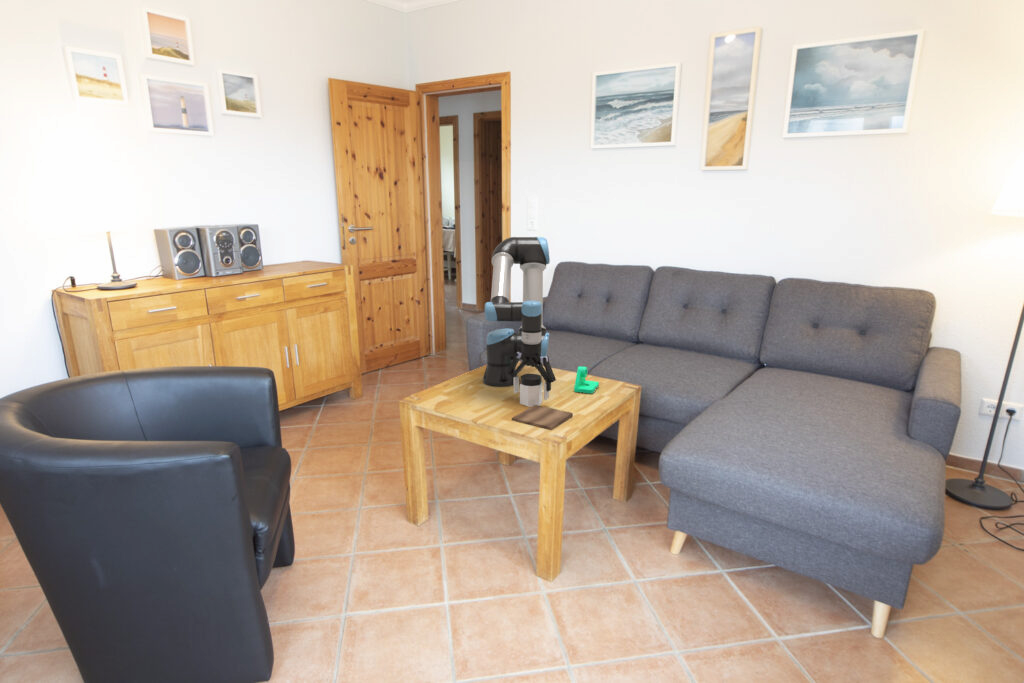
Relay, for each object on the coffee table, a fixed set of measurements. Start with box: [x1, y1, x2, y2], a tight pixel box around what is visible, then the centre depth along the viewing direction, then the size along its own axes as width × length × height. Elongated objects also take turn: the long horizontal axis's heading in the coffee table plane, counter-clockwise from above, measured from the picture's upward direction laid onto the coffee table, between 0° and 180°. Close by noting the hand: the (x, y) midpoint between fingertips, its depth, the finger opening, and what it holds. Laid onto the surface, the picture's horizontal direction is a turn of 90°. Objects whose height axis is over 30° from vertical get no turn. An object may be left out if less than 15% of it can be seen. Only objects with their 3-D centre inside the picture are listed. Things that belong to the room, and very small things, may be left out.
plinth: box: [511, 405, 574, 431], centre depth 200 cm, size 16×16×2 cm
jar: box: [519, 373, 543, 408], centre depth 215 cm, size 9×8×12 cm
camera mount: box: [573, 366, 600, 394], centre depth 234 cm, size 12×8×10 cm, turn 157°
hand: (531, 395), depth 216 cm, fingers open, 13 cm apart
